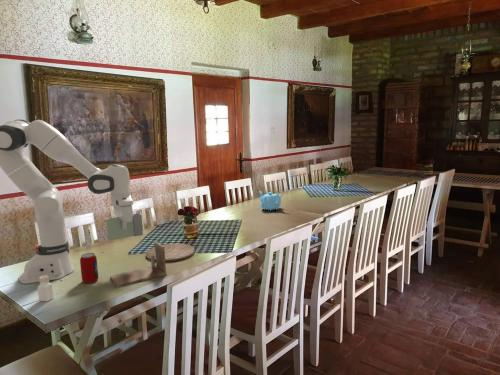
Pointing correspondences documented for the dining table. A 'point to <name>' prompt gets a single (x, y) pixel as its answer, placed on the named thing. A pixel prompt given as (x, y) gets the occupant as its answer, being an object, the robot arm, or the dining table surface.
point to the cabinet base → (144, 270)
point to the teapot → (270, 201)
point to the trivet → (173, 252)
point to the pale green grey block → (118, 232)
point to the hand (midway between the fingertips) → (123, 227)
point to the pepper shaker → (45, 289)
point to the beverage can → (89, 267)
